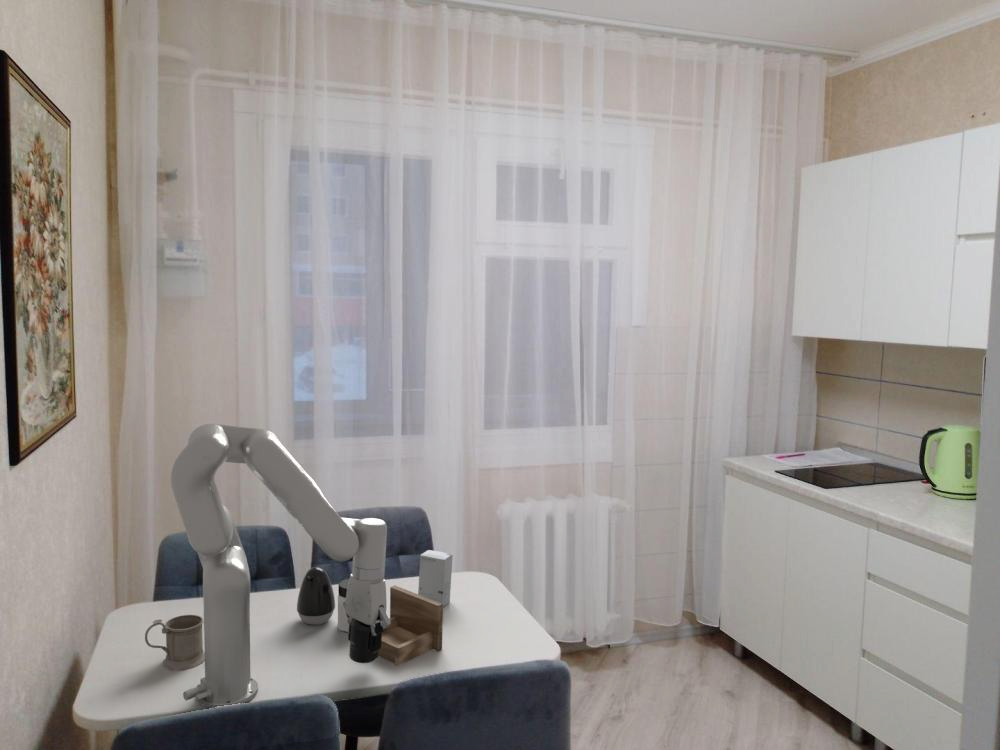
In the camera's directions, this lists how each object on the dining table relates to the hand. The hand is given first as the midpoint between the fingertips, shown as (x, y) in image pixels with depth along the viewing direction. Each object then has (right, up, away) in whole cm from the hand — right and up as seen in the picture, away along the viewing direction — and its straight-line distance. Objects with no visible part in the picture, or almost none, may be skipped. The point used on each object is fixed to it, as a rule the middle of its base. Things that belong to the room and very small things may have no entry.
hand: (364, 643), depth 177 cm
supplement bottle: (0, -3, 0) cm, 4 cm away
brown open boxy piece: (+6, -6, +14) cm, 16 cm away
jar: (-8, -4, +25) cm, 27 cm away
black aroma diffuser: (-18, -4, +28) cm, 33 cm away
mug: (-46, -6, +3) cm, 46 cm away
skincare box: (+13, -3, +42) cm, 44 cm away
